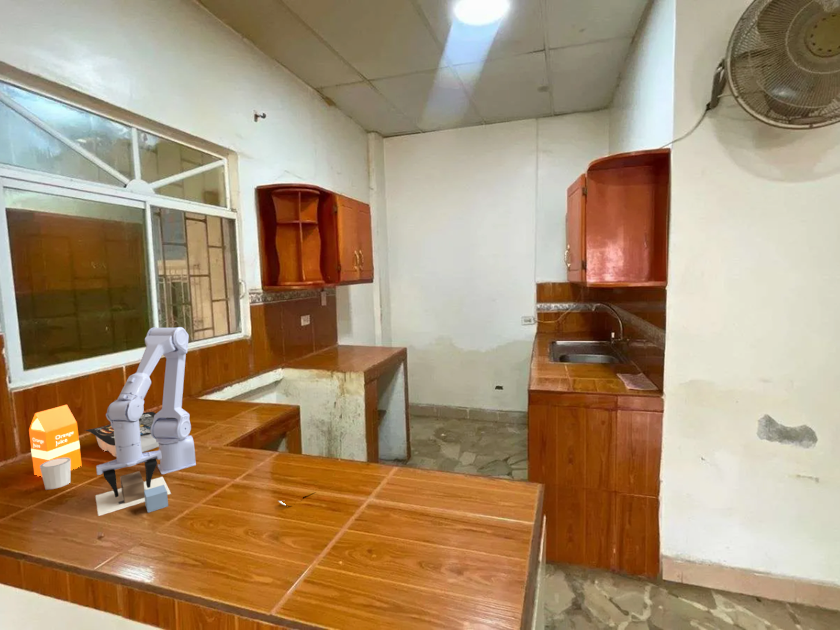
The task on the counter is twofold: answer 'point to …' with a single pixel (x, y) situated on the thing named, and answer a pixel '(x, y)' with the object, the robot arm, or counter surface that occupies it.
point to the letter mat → (112, 503)
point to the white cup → (56, 472)
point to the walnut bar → (132, 487)
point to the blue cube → (156, 498)
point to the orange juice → (54, 437)
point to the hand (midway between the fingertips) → (132, 490)
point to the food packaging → (147, 441)
